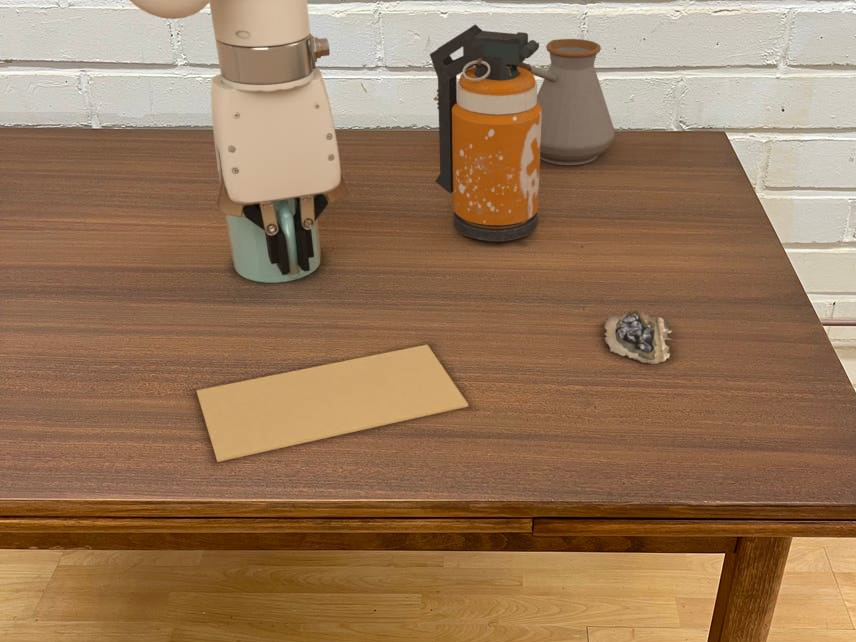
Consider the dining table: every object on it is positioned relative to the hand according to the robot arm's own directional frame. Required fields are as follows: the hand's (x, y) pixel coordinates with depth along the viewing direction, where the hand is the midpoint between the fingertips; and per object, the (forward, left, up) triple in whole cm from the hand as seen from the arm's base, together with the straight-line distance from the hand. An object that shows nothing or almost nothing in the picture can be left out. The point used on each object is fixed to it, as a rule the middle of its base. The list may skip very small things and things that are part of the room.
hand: (292, 266), depth 89 cm
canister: (+23, +8, -3) cm, 24 cm away
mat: (-1, -18, -3) cm, 19 cm away
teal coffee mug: (0, +5, -3) cm, 6 cm away
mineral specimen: (+27, -19, -3) cm, 33 cm away
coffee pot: (+36, +23, -3) cm, 42 cm away
